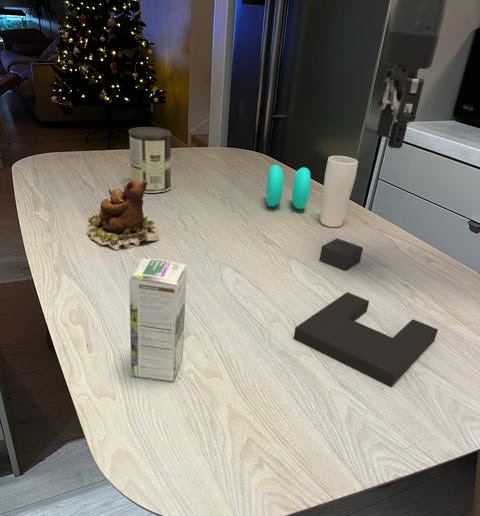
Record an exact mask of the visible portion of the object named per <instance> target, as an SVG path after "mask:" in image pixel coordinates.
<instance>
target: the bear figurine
mask: <svg viewBox="0 0 480 516" xmlns="http://www.w3.org/2000/svg"><path fill="white" fill-rule="evenodd" d="M146 185H147V181H145V180H144V181H143V182H142V183H140V182H138V181H131V180H129V181H127V182H125V183H124V184H123V190H122V189H120V188H116V189H112V187H108V193H109V195H110V197H109V199H110V200H109V199H108V198H103V199H102V201H101V202H100V209H99V212H98V214H94V215H91V216H89V218H88V220H87V222H88V223H89V226H90V225H91V226H90V227H88V229H87V231H86V234H87V235H89V236H90V238H91V239H90V240H93V241H95V242H96V243H98V244H99V245H100V246H104V245H109V247H110V248H112V249H114V250H116V251H119V250H120V246H124V247H125V248H132V247H138V246H139V245H140V243H141V242H142V241H146V242H149V241H151V242H152V241H159V240H160V239H159V238H160V236H159V235H160V232H159V230H160V229H159V227H158V226H155V221H154V220H149V219H148V218H149V215H147V216H145V215H144V210H143V209H144V208H143V205H144V199H143V198H144V195H145V193H144V192H145V187H146Z"/></svg>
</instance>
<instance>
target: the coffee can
mask: <svg viewBox="0 0 480 516" xmlns="http://www.w3.org/2000/svg"><path fill="white" fill-rule="evenodd" d="M128 134H129V135H128V136H129V137H128V138H129V157H130V159H129V161H130V181H138V182H140V183H142V182H143V181H144V180H145V181H147V185H146V187H145V192H147V193H155V192H156V193H157V192H164V191H167V190H169V189H170V188H171V189H172V187H171V186H172V185H171V184H172V183H171V181H172V180H171V176H172V175H171V174H172V173H171V168H172V167H171V161H172V160H171V156H172V154H171V151H172V149H171V148H172V147H171V142H172V141H171V137H172V132H171V131H170V130H168V129H166V128H163V127H153V126H138V127H132V128H130V129H129V130H128ZM171 189H170V190H171ZM170 190H169V191H170ZM167 192H168V191H167ZM147 193H146V194H147ZM164 193H165V192H164Z"/></svg>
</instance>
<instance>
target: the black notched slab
mask: <svg viewBox="0 0 480 516" xmlns="http://www.w3.org/2000/svg"><path fill="white" fill-rule="evenodd" d="M369 304H370V301H369V300H368V299H365V298H363V297H360V296H358V295H356V294H353V293H351V292H349V291H346V292H345V293H344V294H342V295H341V296H339V297H338V298H337V299H335V300H333V301H332V302H330V303H329V304H328V305H326V306H324V307H322V308H321V309H320V310H319V311H317V312H316V313H314V314H313V315H311V316H310V317H309V318H307V319H306V320H304V321H303V322H301V323H299V324H298V325H297V326H295V328H294V333H293V339H294V340H296V341H298V342H300V343H302V344H304V345H306V346H308V347H310V348H313V349H314V350H316V351H318V352H320V353H322V354H324V355H326V356H328V357H331V358H332V359H334V360H336V361H339V362H341V363H342V364H344V365H347V366H348V367H350V368H352V369H354V370H356V371H358V372H360V373H362V374H365V375H366V376H369V377H371V378H373V379H374V380H376V381H379V382H381V383H383V384H385V385H386V386H389V387H392V388H393V386H394V385H395V383H396V382H397V381H399V379H400V378H401V377H402V376H403V375H404V374H405V373H406V372H407V371H408V370H409V369H410V367H411V366H412V365H414V363H415V362H416V361H417V360H418V359H419V358H420V357H421V355H422V354H423V353H424V352H425V351H426V350H427V348H429V346H431V344H432V343H433V342H434V341H435V340H436V337H437V334H438V331H439V329H438V328H436V327H433V326H430V325H429V324H427V323H424V322H422V321H418V320H416V319H414V318H412V319H411V320H410V321H409V322H407V324H406V325H405V326H403V327H402V328H401V329H399V331H398V332H397V333H396V334H395V335H394V336H393V337H392V336H390V335H387V334H385V333H383V332H381V331H379V330H377V329H374V328H372V327H369V326H367V325H365V324H362V323H360V322H357V321H356V320H358V319H359V318H360V317H361V316H363V315H364V314H365V313H367V312H368V308H369Z"/></svg>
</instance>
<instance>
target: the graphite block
mask: <svg viewBox="0 0 480 516" xmlns="http://www.w3.org/2000/svg"><path fill="white" fill-rule="evenodd" d="M363 249H364V247H363V246H360V245H357V244H354V243H352V242H348V241H346V240H343V239H340V238H335V239H333V240H331V241H329V242H327V243H325V244H323V245H321V250H320V254H319V259H318V261H319V262H322V263H324V264H327V265H329V266H332V267H335V268H337V269H339V270H342V271H345V272H346V271H348V270H349V269H351V268H353V267H354V266H356V265H357V264H359V263H361V259H362V254H363Z"/></svg>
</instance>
